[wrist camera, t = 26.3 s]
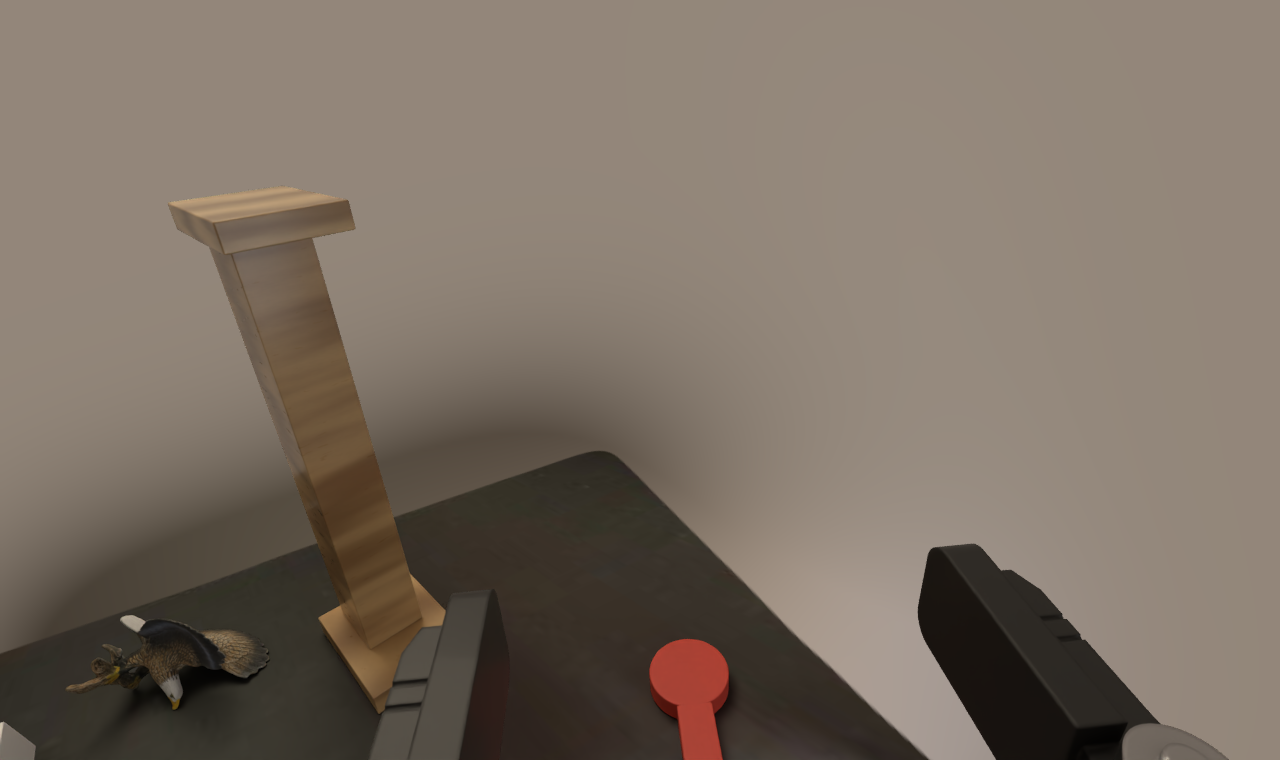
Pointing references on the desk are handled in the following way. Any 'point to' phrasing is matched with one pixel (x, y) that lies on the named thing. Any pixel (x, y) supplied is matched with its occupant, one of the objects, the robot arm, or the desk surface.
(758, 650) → the desk surface
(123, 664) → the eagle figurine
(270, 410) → the stand
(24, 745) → the bracket
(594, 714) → the desk surface
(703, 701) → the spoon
